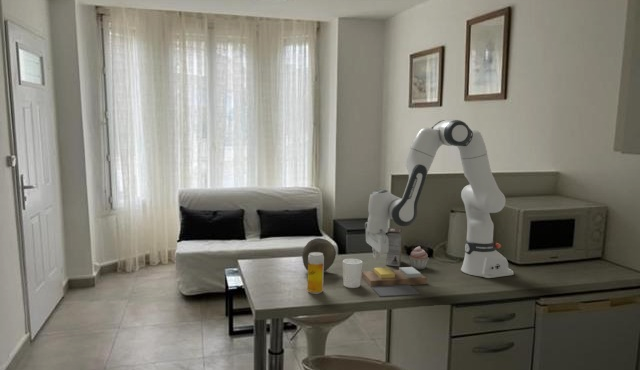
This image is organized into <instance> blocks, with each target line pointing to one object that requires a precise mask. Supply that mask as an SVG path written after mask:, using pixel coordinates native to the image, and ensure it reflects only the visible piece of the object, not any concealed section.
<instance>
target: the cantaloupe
mask: <svg viewBox="0 0 640 370" xmlns="http://www.w3.org/2000/svg"><path fill="white" fill-rule="evenodd" d="M311 252H320V253H323V256H324V272H326V271H327V270H329V269H330V267H331V266H332V265H333V264H334V262H335V259H336V255H337V252H336V249H335V246H334V244H333V243H332V242H331V241H329V240H327V239H325V238H320V237H317V238H313V239H311V240H310V241H308V242H307V243H306V245H305V246H304V248H303V250H302V254H301V256H302V263H303V266H304V268H305V269H306V271H308V256H309V253H311Z"/></svg>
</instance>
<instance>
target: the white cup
mask: <svg viewBox="0 0 640 370" xmlns="http://www.w3.org/2000/svg"><path fill="white" fill-rule="evenodd" d="M362 272H363V260H361V259H359V258H345V259H343V260H342V279H343V282H342V283H343V286H344V287H345V288H349V289H355V288H356V289H357V288H359V287H361V280H362Z"/></svg>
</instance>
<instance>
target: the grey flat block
mask: <svg viewBox="0 0 640 370" xmlns="http://www.w3.org/2000/svg"><path fill="white" fill-rule="evenodd" d="M398 270H399V272H401V273H402V274H403V275H404V276H406V277H407V278H413V277H421V274H422V273H421V272H420V271H419V270H418V269H414V268H413V267H411V266H404V267H403V266H402V267H400V266H398Z"/></svg>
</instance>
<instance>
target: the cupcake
mask: <svg viewBox="0 0 640 370" xmlns="http://www.w3.org/2000/svg"><path fill="white" fill-rule="evenodd" d="M428 256H429V255H428V253H427V251H425V250H424V249H423V248H421V246H420V245H419V246H417V247H415V248H414V249H413V250H412V251H411V252H410V255H409V256H408V259H409V263H410V267H413V268H414V269H416V270H425V269H426V266H427V264H428V261H429V259H430V258H429V257H428Z"/></svg>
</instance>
